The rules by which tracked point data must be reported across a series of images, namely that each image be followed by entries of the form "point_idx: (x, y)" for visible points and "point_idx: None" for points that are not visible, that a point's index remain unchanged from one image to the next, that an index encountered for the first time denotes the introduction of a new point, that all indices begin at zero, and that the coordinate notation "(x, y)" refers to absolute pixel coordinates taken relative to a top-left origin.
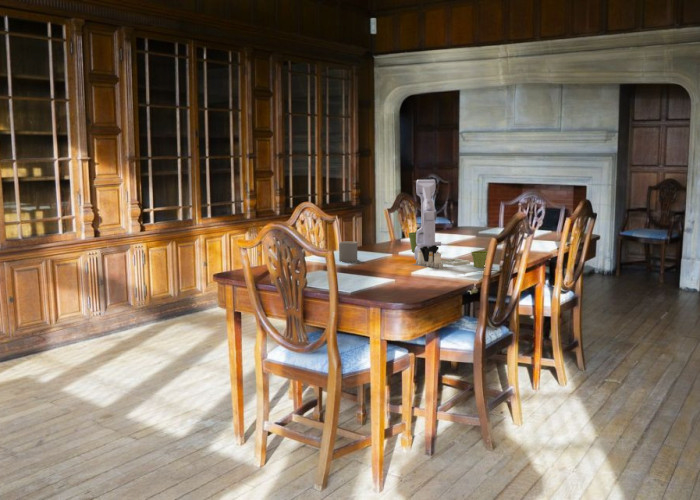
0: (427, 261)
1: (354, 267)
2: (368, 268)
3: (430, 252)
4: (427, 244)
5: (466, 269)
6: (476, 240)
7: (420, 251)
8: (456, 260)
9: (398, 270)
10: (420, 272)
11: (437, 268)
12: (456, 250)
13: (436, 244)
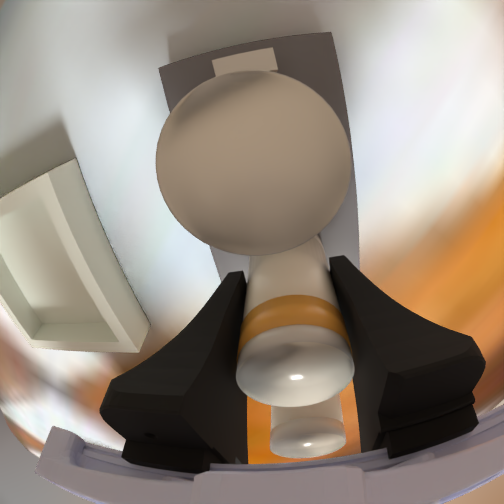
0: (341, 256)
1: (496, 392)
2: (498, 369)
3: (310, 345)
4: (470, 471)
5: (20, 77)
6: (23, 441)
7: (339, 433)
8: (21, 314)
9: (492, 282)
10: (465, 118)
11: (312, 50)
12: (45, 433)
13: (118, 474)
